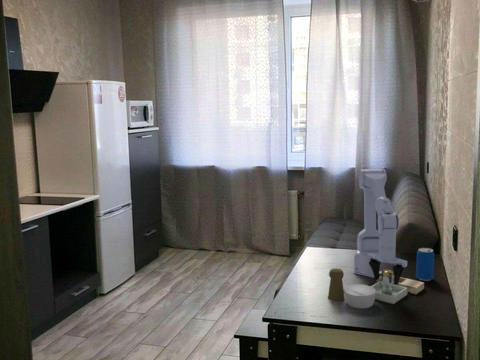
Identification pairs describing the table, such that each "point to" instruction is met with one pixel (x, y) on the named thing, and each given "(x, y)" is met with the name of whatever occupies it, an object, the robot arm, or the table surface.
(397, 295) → the tray
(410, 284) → the wooden block with hole
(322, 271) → the table surface
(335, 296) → the cork
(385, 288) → the white and gold cylinder
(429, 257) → the beverage can
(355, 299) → the ramekin
